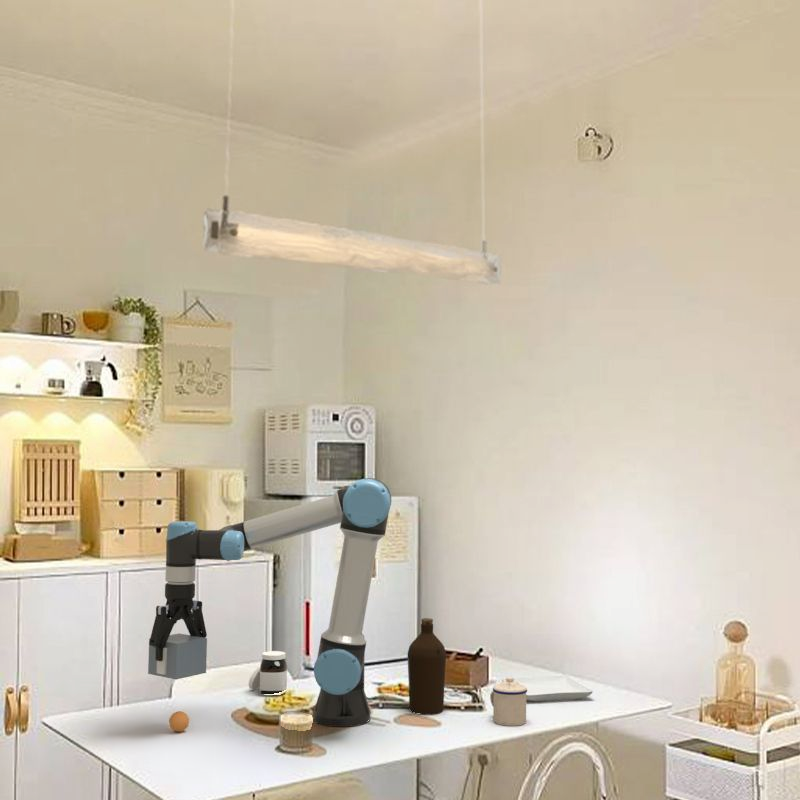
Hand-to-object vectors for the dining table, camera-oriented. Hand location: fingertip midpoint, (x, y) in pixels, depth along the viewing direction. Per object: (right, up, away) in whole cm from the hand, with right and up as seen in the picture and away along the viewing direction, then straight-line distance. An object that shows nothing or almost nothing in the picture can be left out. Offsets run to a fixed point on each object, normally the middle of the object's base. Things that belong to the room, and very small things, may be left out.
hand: (177, 670), depth 271 cm
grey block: (0, -1, 0) cm, 1 cm away
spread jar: (+17, -17, +42) cm, 49 cm away
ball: (+1, -13, -1) cm, 13 cm away
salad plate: (+100, -19, +43) cm, 110 cm away
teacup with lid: (+85, -17, +12) cm, 87 cm away
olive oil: (+64, -17, +23) cm, 70 cm away
